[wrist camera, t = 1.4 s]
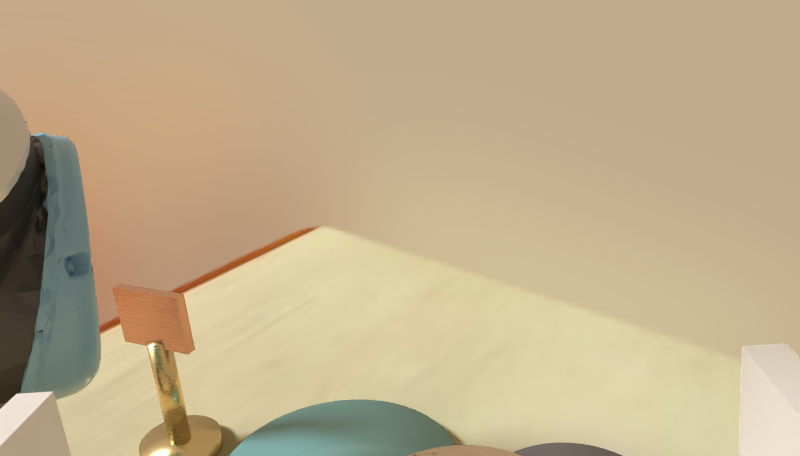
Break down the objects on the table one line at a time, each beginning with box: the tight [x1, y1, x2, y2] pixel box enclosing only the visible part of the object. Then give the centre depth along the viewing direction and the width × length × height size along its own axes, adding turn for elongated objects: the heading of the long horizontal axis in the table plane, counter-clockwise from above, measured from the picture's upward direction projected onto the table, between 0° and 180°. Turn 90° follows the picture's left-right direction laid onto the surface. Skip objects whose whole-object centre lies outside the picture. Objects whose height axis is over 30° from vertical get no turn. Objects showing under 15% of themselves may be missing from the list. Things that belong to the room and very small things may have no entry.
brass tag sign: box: [112, 284, 223, 456], centre depth 46 cm, size 5×5×11 cm
